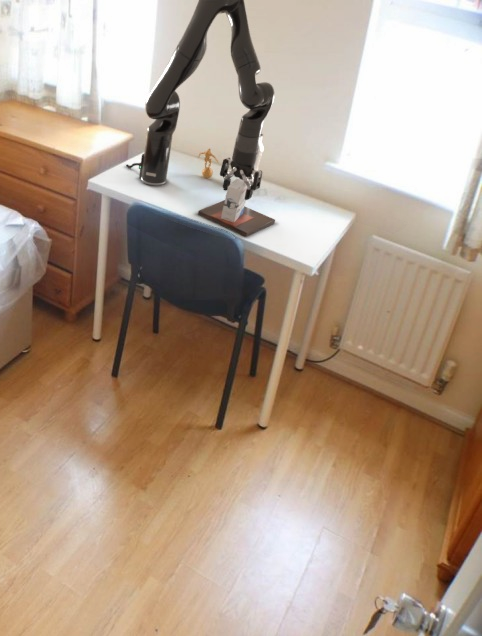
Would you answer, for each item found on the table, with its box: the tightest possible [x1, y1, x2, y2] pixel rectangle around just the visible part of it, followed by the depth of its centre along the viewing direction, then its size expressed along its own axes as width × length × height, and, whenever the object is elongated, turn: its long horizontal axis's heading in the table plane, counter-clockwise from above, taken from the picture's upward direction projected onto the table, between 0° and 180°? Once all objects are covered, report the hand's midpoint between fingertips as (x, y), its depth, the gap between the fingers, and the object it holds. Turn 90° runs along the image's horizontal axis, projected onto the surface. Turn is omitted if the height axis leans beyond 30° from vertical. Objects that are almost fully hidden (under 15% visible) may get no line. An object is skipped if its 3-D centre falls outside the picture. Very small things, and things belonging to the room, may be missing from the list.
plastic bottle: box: [238, 133, 265, 181], centre depth 258 cm, size 6×7×20 cm
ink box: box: [221, 178, 247, 222], centre depth 236 cm, size 9×5×12 cm, turn 148°
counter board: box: [197, 199, 276, 238], centre depth 241 cm, size 20×16×2 cm
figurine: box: [197, 148, 219, 179], centre depth 265 cm, size 8×6×12 cm
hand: (236, 194), depth 235 cm, fingers open, 8 cm apart
